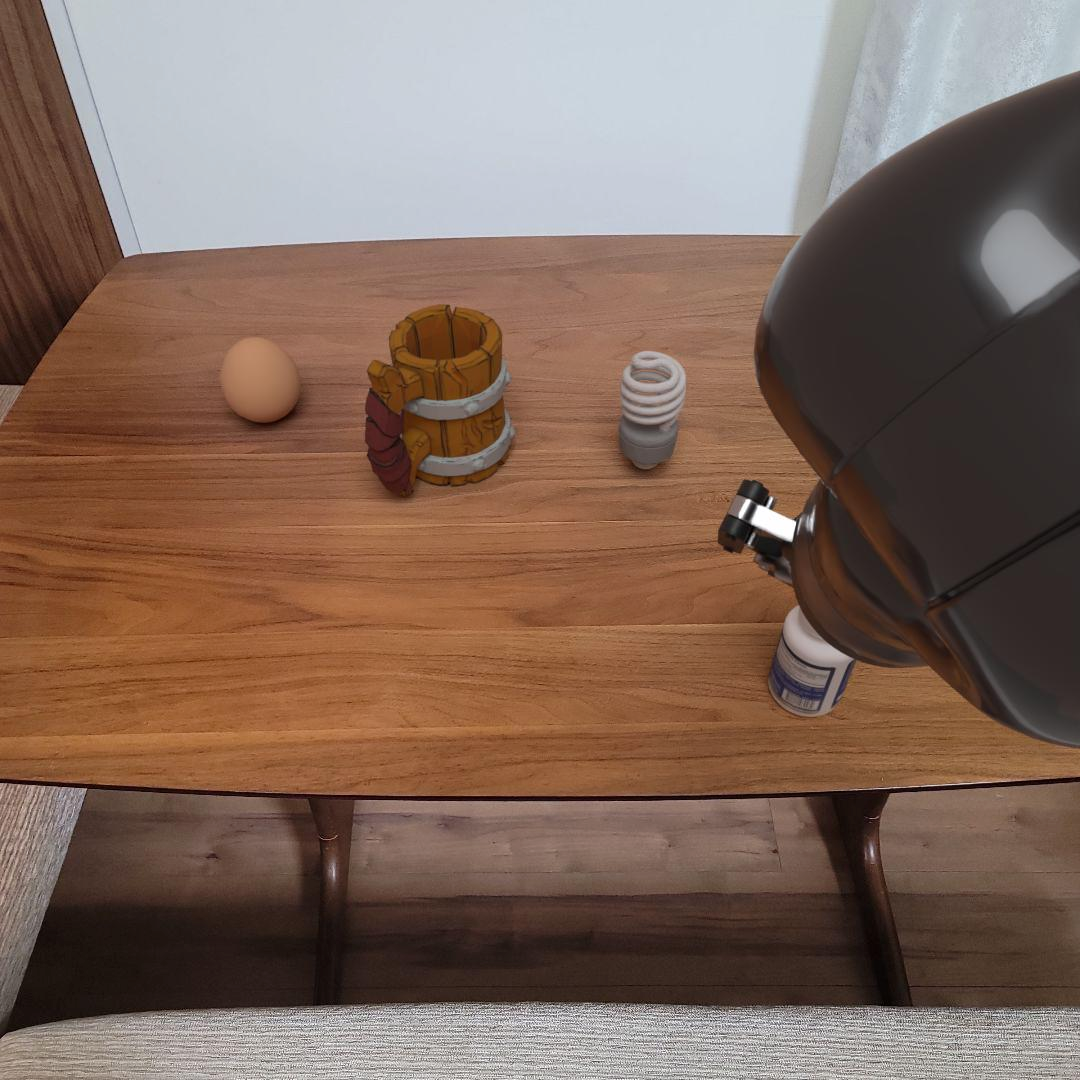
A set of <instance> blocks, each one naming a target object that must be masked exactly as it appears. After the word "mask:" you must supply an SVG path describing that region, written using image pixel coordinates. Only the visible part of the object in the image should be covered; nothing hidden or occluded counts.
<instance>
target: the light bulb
mask: <svg viewBox="0 0 1080 1080" xmlns="http://www.w3.org/2000/svg"><path fill="white" fill-rule="evenodd" d="M630 361H631V363H630V364H629V365H626V367H624V369H623V371H622V373H621V381H620V384H619V389H620V390H619V391H620V393H619V401H620V403H621V407H620V410H621V413H622V415H621V416H620V419H619V423H618V446H619V450H620V452H621V453H622V455H623V456H625V457H626V458H627V459H628V460H630V461H631V462H632V463H633V465H634V466H635V467H636V468H639V469H642V470H650V469H653V468H655V467H657V465H658V464H659V463H662V462H665V461H666V460H668V459H670V457H672V455H673V454H674V452H675V448H676V444H677V441H678V438H679V437H678V436H679V431H680V430H679V427H680V425H679V420H678V419H679V417H680V415H681V414H680V413H681V411H682V409H683V407H684V404H685V397H686V393H687V386H686V385H687V374H686V371H685V369H684V367H683V366H682V365H681V363H680V362H679V361H678V360H676V358H674V357H672V356H670V355H668V354H666V353H663V352H659V351H653V350H643V351H639V352H637V353H635V354H634V355H633V356H632V357H631V359H630ZM648 370H649V371H648ZM649 381H652V382H649ZM654 382H656V383H654ZM640 393H643V394H640ZM646 394H654V395H646Z"/></svg>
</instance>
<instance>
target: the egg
mask: <svg viewBox="0 0 1080 1080" xmlns="http://www.w3.org/2000/svg"><path fill="white" fill-rule="evenodd" d="M219 385H220V389H221V393H222V396H223V398H224V400H225V402H226V404H227V405H228V407H230V409H231V410H232V411H233V412H234V413H236V414H237V415H238V416H240V417H242V418H244V419H245V420H247V421H251V422H255V423H265V424H266V423H272V422H275V421H278V420H281V419H282V418H284V417H286V416H287V415H288V414H289V413H290V412H291V411H292V410H293V409H294V407H295V406H296V405H297V403H298V401H299V398H300V395H301V390H302V383H301V376H300V372H299V369H298V367H297V363H296V362H295V360H294V358H292V356H291V355H290V354H289V353H288V352H287V351H286V350H285V348H283V347H282V346H280V345H279V344H278V343H276V342H274V341H273V340H270V339H268V338H266V337H261V336H260V337H259V336H250V337H246V338H243V339H240V340H238V341H237V342H236V343H234V344H233V345H232V346H230V348H229V349H228V351H227V352H226V355H225V356H224V358H223V361H222V364H221V367H220V372H219Z"/></svg>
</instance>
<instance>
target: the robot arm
mask: <svg viewBox="0 0 1080 1080" xmlns="http://www.w3.org/2000/svg"><path fill="white" fill-rule="evenodd" d="M761 307H762V308H761V310H760V314H759V317H758V321H757V323H756V327H755V334H754V343H753V344H754V345H753V367H754V373H755V378H756V382H757V384H758V387H759V390H760V393H761V395H762V397H763V399H764V401H765V403H766V405H767V407H768V408H769V410H770V412H771V414H772V416H773V417H774V419H775V421H776V422H777V423H778V425H779V426H780V428H781V429H782V430H783V432H784V433H785V434H786V436H787V437H788V438H789V440H790V441H791V442H792V444H793V445H794V447H795V448H796V449H797V451H798V452H799V454H800V455H801V457H803V459H804V460H805V461H806V463H807V464H808V465H809V467H810V468H811V469H812V470H813V472H814V473H815V474H816V476H817V477H818V481H817V482H816V484H815V485H814V486H813V487H812V490H811V492H810V494H809V495H808V497H807V499H806V501H805V504H804V506H803V509H802V511H801V512H800V513H798V514H797V516H795V517H794V518H791V517H789V516H786V515H783V514H781V513H779V512H777V511H774V509H775V506H776V504H777V502H778V499H777V498H776V497H774V496H772V495H769V494H770V490H769V489H768V488H767V487H765V486H764V483H762V482H760V481H758V480H756V479H752V480H750V479H746V478H744V479H743V480H742V482H741V483H740V486H739V488H738V490H737V492H736V493H735V496H734V497H733V500H732V501H731V503H730V505H729V507H728V509H727V511H726V514H725V515H724V517H723V520H722V522H721V523H720V526H719V527H718V530H717V544H718V545H719V546H721V547H723V548H722V550H723V551H726V552H727V553H730V554H733V553H736V554H739V555H741V554H742V552H743V550H744V548H747V549H749V550H751V551H753V552H755V555H754V556H753V559H752V562H753V563H754V564H757V568H759V569H760V570H763V571H765V572H767V575H768V576H769V577H772V578H774V579H776V580H778V581H779V582H781V583H783V584H785V585H787V586H789V587H790V588H791V589H793V591H794V592H793V593H794V596H795V599H796V601H797V605H799V606H800V608H801V611H802V612H803V614H804V616H805V618H806V619H807V621H808V622H809V624H810V625H811V626H812V628H813V629H814V630H815V631H816V632H817V633H818V634H819V635H820V636H821V638H823V639H824V640H825V641H826V642H827V643H828V644H830V645H831V646H832V647H834V648H835V649H837V650H838V651H840V652H841V653H843V654H845V655H847V656H849V657H851V658H853V659H855V660H856V661H858V662H860V663H863V664H867V665H870V666H875V667H880V668H887V669H910V668H911V669H912V668H925V667H926V668H927V667H929V668H930V669H931V670H932V671H933V672H934V673H935V674H937V676H938V677H940V678H941V679H942V680H943V681H944V682H946V684H948V685H949V686H950V687H951V688H952V689H953V690H954V691H955V692H956V693H958V695H960V696H961V697H962V698H963V699H964V700H965V701H967V702H968V703H969V705H971V706H973V707H974V708H975V709H977V710H978V711H979V712H981V713H982V714H983V715H985V716H986V717H988V718H989V719H991V720H992V721H993V722H995V723H997V724H999V725H1001V726H1002V727H1004V728H1007V729H1010V730H1012V731H1014V732H1016V733H1019V734H1020V735H1023V736H1025V737H1027V738H1030V739H1033V740H1035V741H1036V740H1037V741H1040V742H1043V743H1046V744H1051V745H1056V746H1060V747H1066V748H1071V749H1079V750H1080V70H1077V71H1074V72H1070V73H1067V74H1064V75H1061V76H1059V77H1055V78H1053V79H1050V80H1048V81H1045V82H1043V83H1040V84H1037V85H1035V86H1032V87H1030V88H1027V89H1025V90H1022V91H1020V92H1016V93H1014V94H1012V95H1009V96H1006V97H1004V98H1001V99H999V100H996V101H994V102H991V103H989V104H986V105H983V106H982V107H979V108H977V109H975V110H972V111H970V112H967V113H965V114H963V115H960V116H959V117H958V118H955V119H954V120H951V121H949V122H947V123H946V124H944V125H941V126H940V127H938V128H936V129H934V130H932V131H931V132H929V133H927V134H926V135H924V136H922V137H920V138H918V139H916V140H915V141H913V142H911V143H909V144H908V145H906V146H905V147H903V148H901V149H900V150H898V151H896V152H894V153H893V154H891V155H890V156H888V157H886V158H885V159H884V160H882V161H881V162H880V163H878V164H876V166H874V167H872V168H871V169H870V170H869V171H867V172H866V173H865V174H863V175H862V176H861V177H859V178H858V179H856V180H855V181H854V182H853V183H851V184H850V185H849V186H848V187H847V188H846V189H844V191H842V192H841V193H840V194H839V195H837V197H836V198H834V200H832V201H831V202H830V203H829V204H828V205H827V206H826V207H825V208H824V209H823V210H822V211H821V213H819V214H818V215H817V216H816V218H815V219H814V220H813V221H812V222H811V224H810V225H809V226H808V227H807V228H806V229H805V230H804V232H802V234H801V236H799V238H798V240H797V241H796V242H795V244H794V245H793V246H792V248H791V249H790V251H789V252H787V255H786V256H785V258H784V260H783V262H782V264H781V266H780V267H779V269H778V271H777V273H776V275H775V277H774V278H773V281H772V283H771V285H770V286H769V289H768V290H767V293H766V294H765V298H764V300H763V304H762V306H761Z"/></svg>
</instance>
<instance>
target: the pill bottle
mask: <svg viewBox="0 0 1080 1080" xmlns="http://www.w3.org/2000/svg"><path fill="white" fill-rule="evenodd" d="M856 663H857V660H855V659H853V658H851V657H849V656H847V655H845V654H843V653H841V652H840V651H838V650H837V649H835V648H834V647H832V646H831V645H830V644H828V643H827V642H826V641H825V640H824V639H823V638H821V636H820V635H819V634H818V633H817V632H816V631H815V630H814V629H813V628H812V626H811V625H810V624H809V622H808V621H807V619H806V618H805V616H804V614H803V612H802V611H801V608H800V606H799V604H797V605H796V606H794V607H793V608H792V609H791V610H790V611H789V612H788V614H787V615H786V617H785V619H784V622H783V625H782V629H781V632H780V636H779V638H778V642H777V646H776V649H775V653H774V656H773V658H772V662H771V667H770V669H769V674H768V680H767V681H768V682H767V683H768V688H769V692H770V693H771V696H772V697H773V699H774V700H775V701H776V703H777V704H778V705H779V706H780V707H781V708H783V709H784V710H786V711H788V712H789V713H792V714H793V715H796V716H800V717H805V718H815V717H816V718H817V717H821V716H825V715H827V714H829V713H830V712H832V711H833V710H834V709H835V708H836V707H837V706H838V705H839V704H840V701H841V700H842V698H843V695H844V693H845V690H846V688H847V685H848V682H849V680H850V678H851V675H852V673H853V670H854V668H855V666H856Z"/></svg>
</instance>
